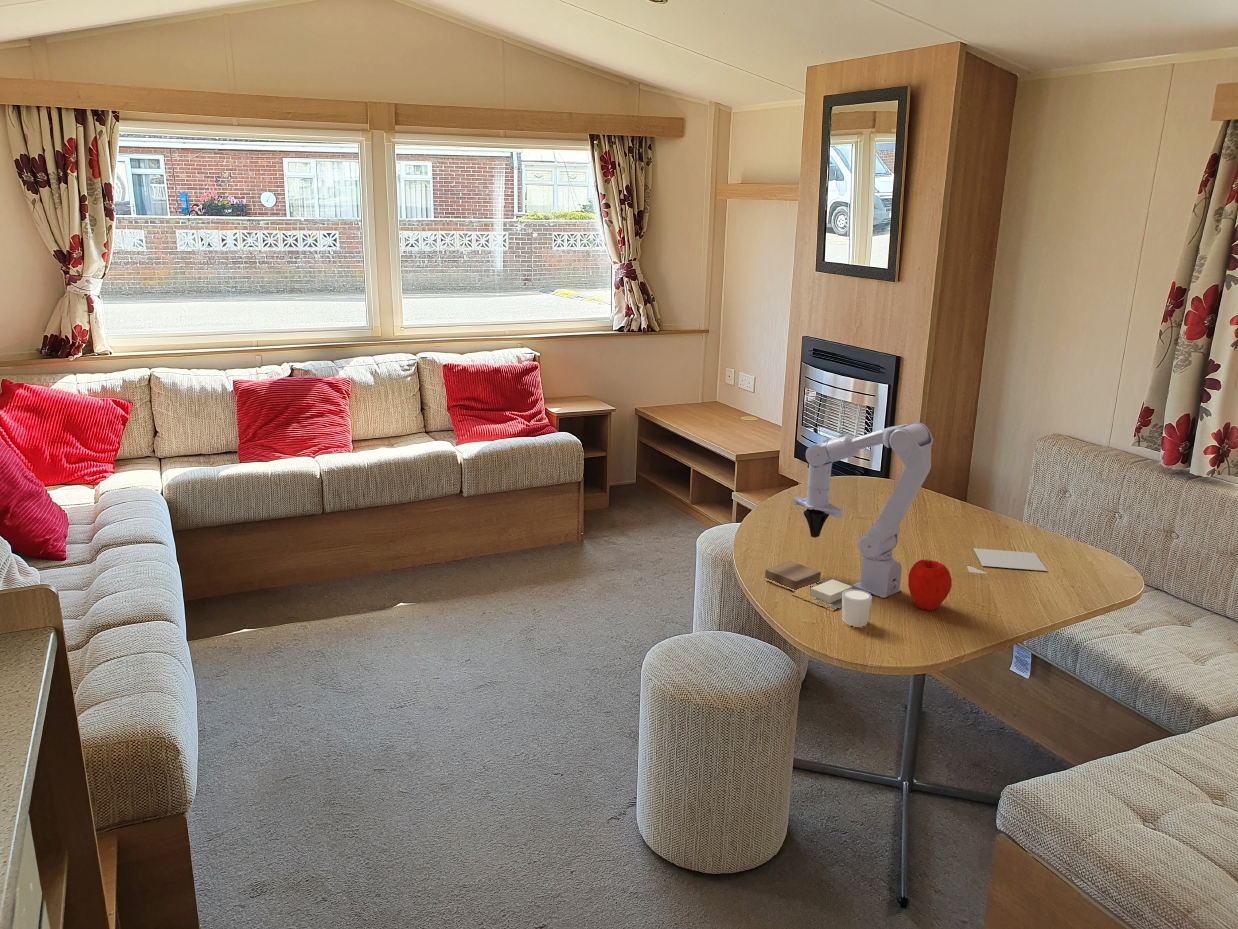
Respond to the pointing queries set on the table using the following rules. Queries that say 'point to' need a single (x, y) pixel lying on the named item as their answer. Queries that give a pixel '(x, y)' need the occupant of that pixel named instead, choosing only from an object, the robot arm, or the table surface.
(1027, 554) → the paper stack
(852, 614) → the white cylinder
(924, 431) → the robot arm
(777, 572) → the riser
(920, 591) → the apple
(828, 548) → the table surface
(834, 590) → the cream rectangular block
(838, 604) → the mat
